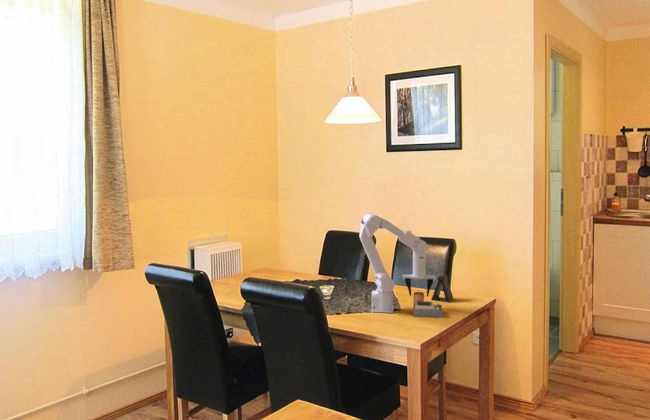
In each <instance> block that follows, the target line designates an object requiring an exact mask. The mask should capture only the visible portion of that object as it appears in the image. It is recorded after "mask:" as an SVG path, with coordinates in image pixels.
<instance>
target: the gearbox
mask: <svg viewBox="0 0 650 420" xmlns="http://www.w3.org/2000/svg"><path fill="white" fill-rule="evenodd" d="M413 317H422V318H423V317H424V318H425V317H426V318H443V307H442V304H440V303H436V304H434V301H427V300H424V301H415V304H414V303H413Z"/></svg>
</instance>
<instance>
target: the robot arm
mask: <svg viewBox="0 0 650 420" xmlns="http://www.w3.org/2000/svg"><path fill="white" fill-rule="evenodd" d="M379 229H383V230H384V229H385V230H387V231H388V232H390V233H391V234H393V235H395V236H397V237H398V241H399V242H401V243H402V244H403V245H405V246H407V247H408V248H410V249H411V250H412V273H411V274H402V281H403V280H405V281H404V282H405V285H406V286H407V290H408V293H409V296H412V287H411V286H412V285H411V284H412V280H413V281H414V280H415V281H416V280H417V281H418V280H419V281H426V282H427V284H426V286H427V288H426V297H429V293H430V291H431V288H432V285H433V284H434V282H435V281H436V279H437V278H436V275H435V274H434V275H432V274H427V273H426V271H427V269H426V266H427V265H426V260H427V259H426V258H427V255H426V254H427V251H428V248H429V246H428V244H427V242H426V240H425V241H424V239H421V238H420V236H416V235H415V234H413V233H412V231H411V230H409V229H403V230H401V229H400V228H399V227H397V226H396V225H395V224H393V223H392V222H390V221H389V220H388V219H385V218H384V217H380V216H378V215H376V214H374V213H371V212H368V213H365V214H364V215H363V216H362V218H361V219H360V228H359V235H358V236H359V240H360V242H361V244H362V246H363V249H364V251H365V253H366V256H367V258H368V261H369V263H370V266H371V268H372V270H373V275H374V278H375V279H374V283H375V285H376V286H377V287H376V289H375V290H372V291H371V310H370V311H371V312H372V313H387V314H388V313H390V314H392V313H394V309H395V307H394V306H393V303H394V301H393V300H394V295H393V293H394V291H393V290H394V288H395V281H394V280H393V279H392V278H391V277H390V275H389V273H388V271H387V270H386V268H385V266H384V264H383V261H382V259H381V256H380V254H379V251H378V249H377V247H376V245H375V242H374V240H373V236H374V234H375V233H376V232H377V230H379Z"/></svg>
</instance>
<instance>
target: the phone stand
mask: <svg viewBox="0 0 650 420" xmlns="http://www.w3.org/2000/svg"><path fill="white" fill-rule="evenodd" d="M448 278H449V276H448V274H444V273H442V274H441V275H439V276H438V278H437V284H436V286H435V289H434V291H433V294H432V295H431V296H432V297H431V301H433V302H434V301H436V302H442V303H450V302H452V301H453V300H454V296H453V293H452V291H451V287H450V283H449V281H448V280H449V279H448ZM441 291H443V293H444V296H443V297H442V296H440V294H441Z"/></svg>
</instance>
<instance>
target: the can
mask: <svg viewBox="0 0 650 420" xmlns="http://www.w3.org/2000/svg"><path fill="white" fill-rule="evenodd" d="M415 301H425V293H424V292H421V291H415V292H413V305H414V304H415Z"/></svg>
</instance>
